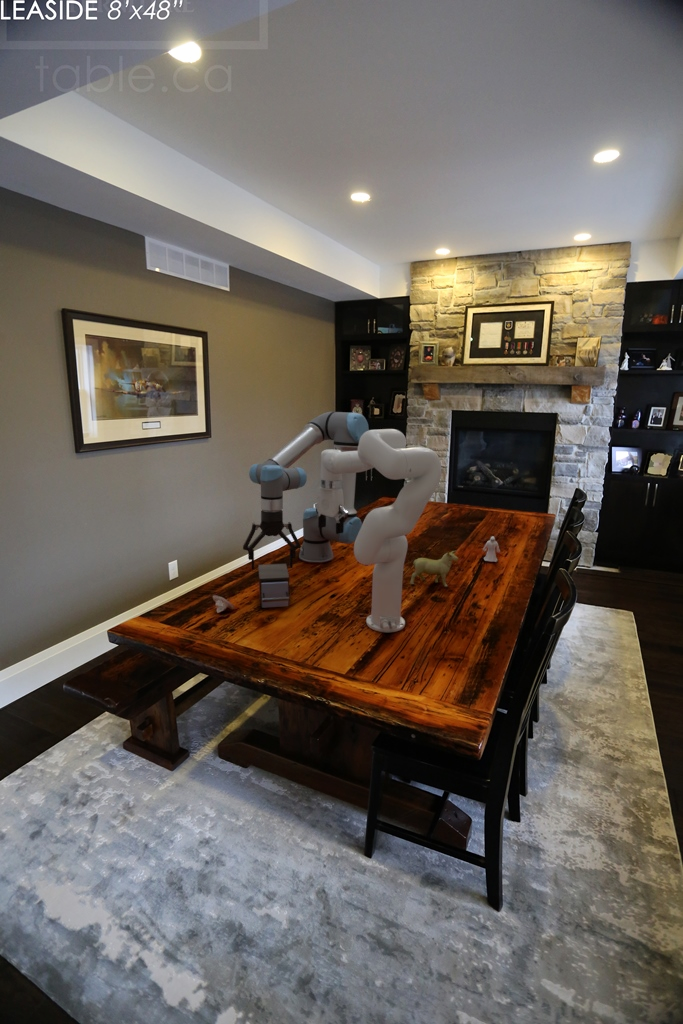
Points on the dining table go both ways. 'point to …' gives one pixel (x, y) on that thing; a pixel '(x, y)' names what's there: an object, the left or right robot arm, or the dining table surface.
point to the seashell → (221, 603)
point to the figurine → (491, 550)
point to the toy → (434, 567)
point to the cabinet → (272, 575)
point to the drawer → (274, 593)
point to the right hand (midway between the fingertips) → (330, 530)
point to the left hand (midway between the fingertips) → (272, 567)
